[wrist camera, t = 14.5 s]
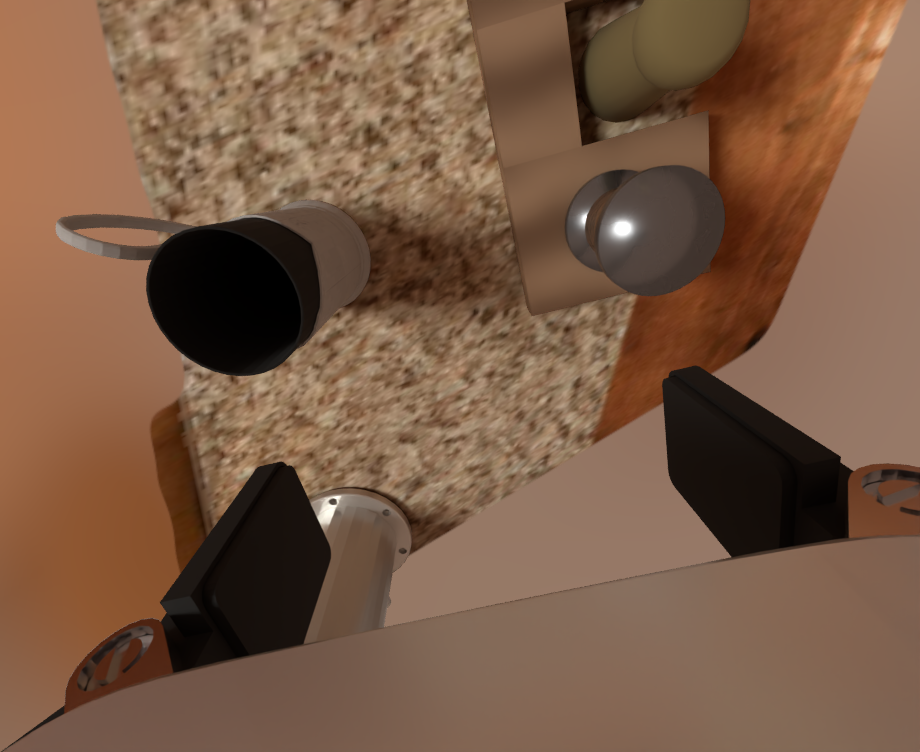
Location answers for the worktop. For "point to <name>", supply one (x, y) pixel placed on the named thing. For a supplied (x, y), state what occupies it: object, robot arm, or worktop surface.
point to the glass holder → (242, 279)
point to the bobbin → (647, 227)
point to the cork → (658, 53)
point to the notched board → (557, 143)
